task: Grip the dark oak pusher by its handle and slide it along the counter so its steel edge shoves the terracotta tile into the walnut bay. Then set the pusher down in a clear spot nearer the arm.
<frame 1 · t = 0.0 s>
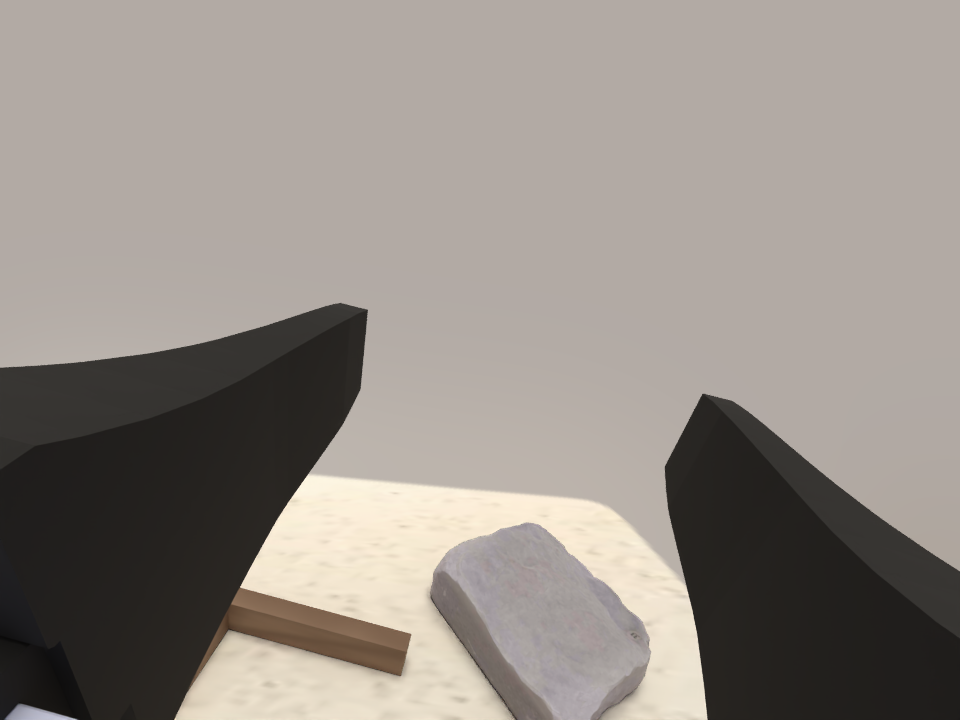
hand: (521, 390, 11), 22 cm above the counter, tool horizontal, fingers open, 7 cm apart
stone block: (537, 634, 31), on the counter
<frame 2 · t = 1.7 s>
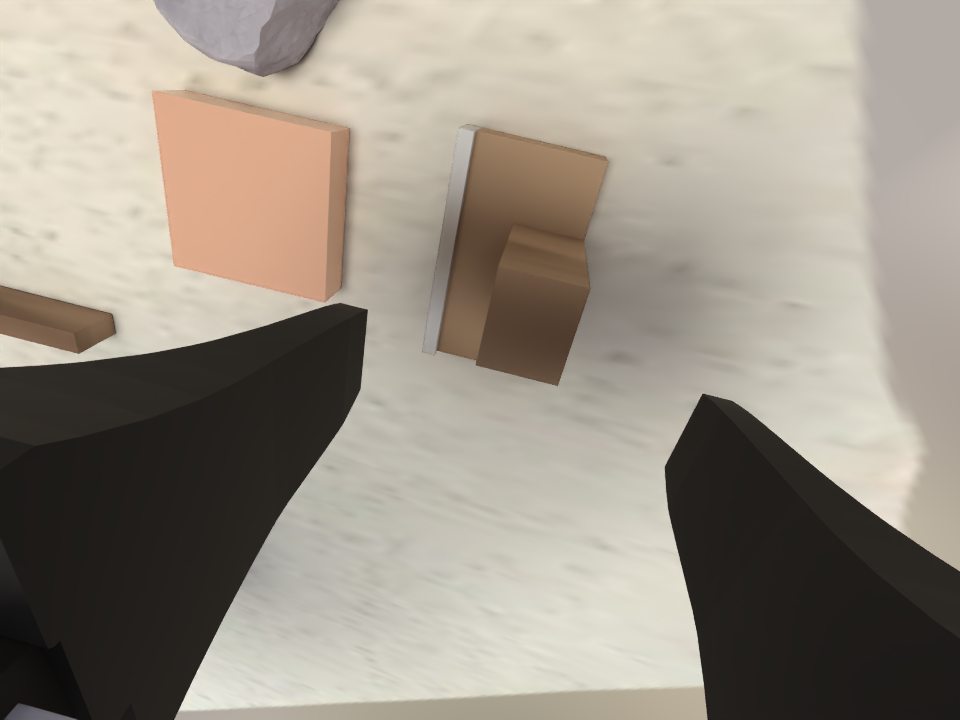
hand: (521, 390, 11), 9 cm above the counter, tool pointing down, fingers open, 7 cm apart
terracotta tile: (274, 194, 19), on the counter
oak pusher: (539, 261, 19), on the counter
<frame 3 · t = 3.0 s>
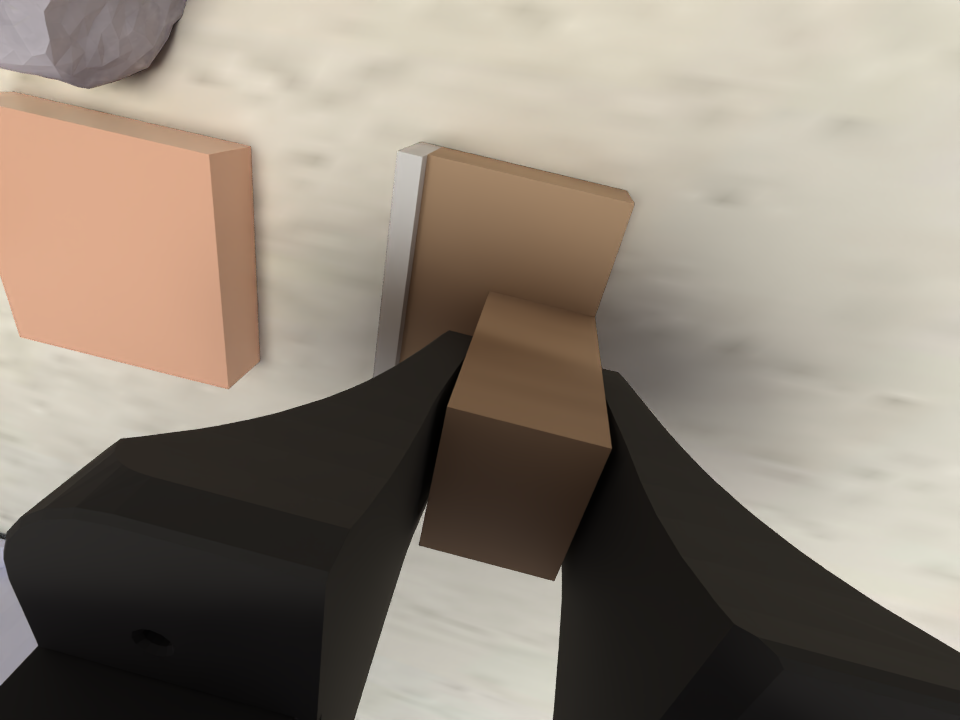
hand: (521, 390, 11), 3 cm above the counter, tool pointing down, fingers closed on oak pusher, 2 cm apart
terracotta tile: (160, 236, 14), on the counter
oak pusher: (529, 335, 13), on the counter, touching gripper
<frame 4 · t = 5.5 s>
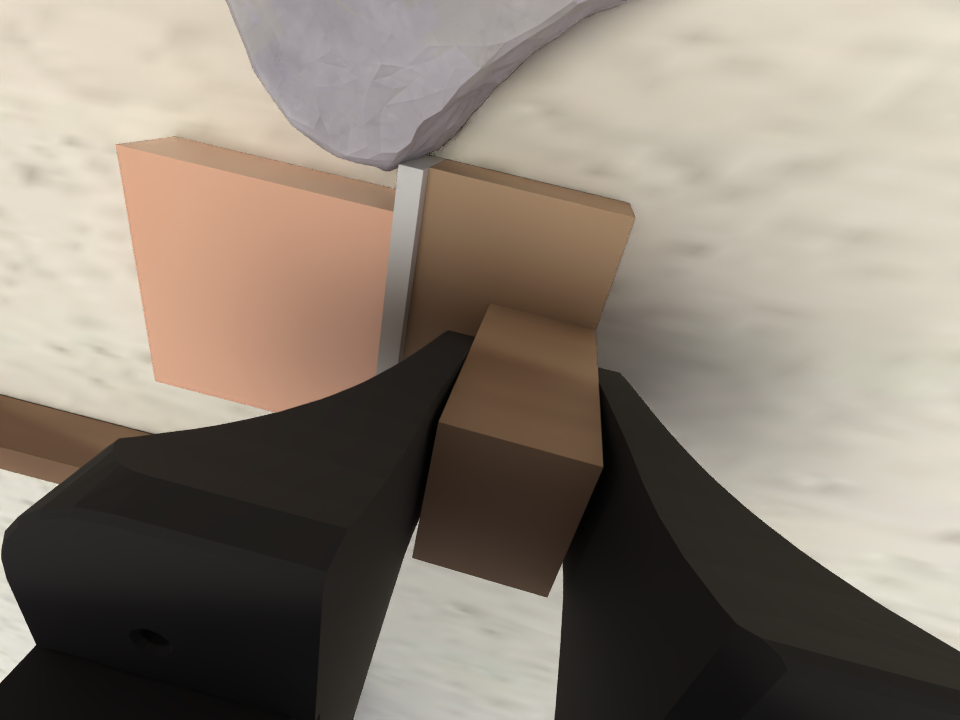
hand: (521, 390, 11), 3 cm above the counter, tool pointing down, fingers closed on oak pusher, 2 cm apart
walnut bay: (28, 211, 13), on the counter
terracotta tile: (297, 279, 13), on the counter
oak pusher: (531, 346, 13), on the counter, touching gripper
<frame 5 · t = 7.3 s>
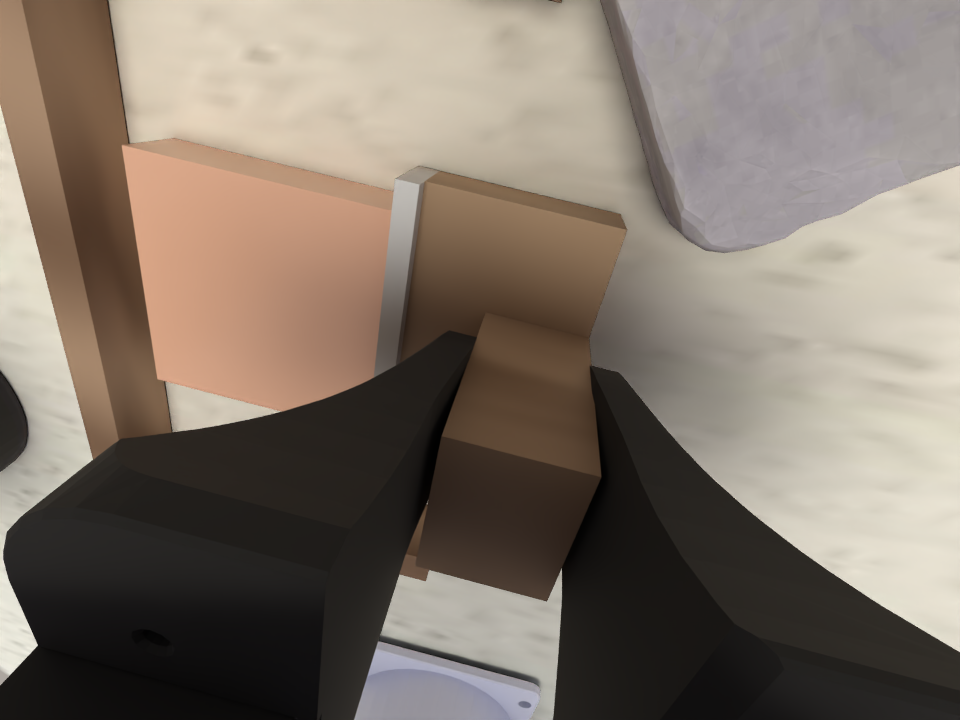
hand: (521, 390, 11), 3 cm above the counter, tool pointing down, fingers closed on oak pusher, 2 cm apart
walnut bay: (303, 279, 13), on the counter
terracotta tile: (299, 278, 14), on the counter, touching oak pusher
oak pusher: (525, 352, 13), on the counter, touching gripper, terracotta tile
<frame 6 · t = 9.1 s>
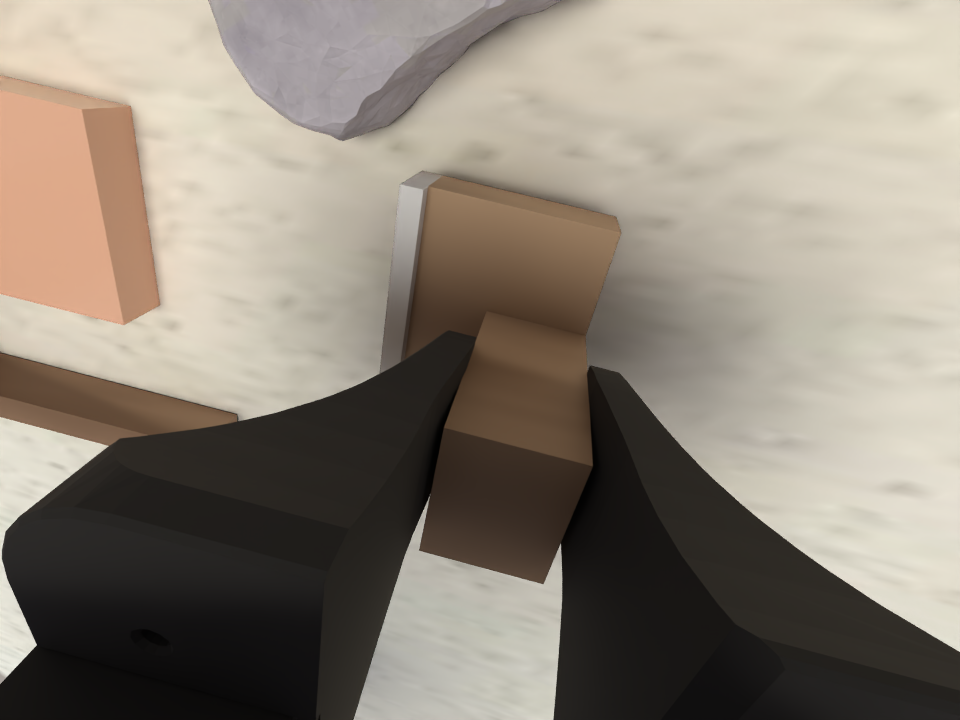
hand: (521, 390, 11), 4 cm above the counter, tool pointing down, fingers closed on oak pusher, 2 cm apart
walnut bay: (65, 190, 15), on the counter
terracotta tile: (65, 190, 15), on the counter
oak pusher: (525, 349, 14), point 1 cm above the counter, touching gripper
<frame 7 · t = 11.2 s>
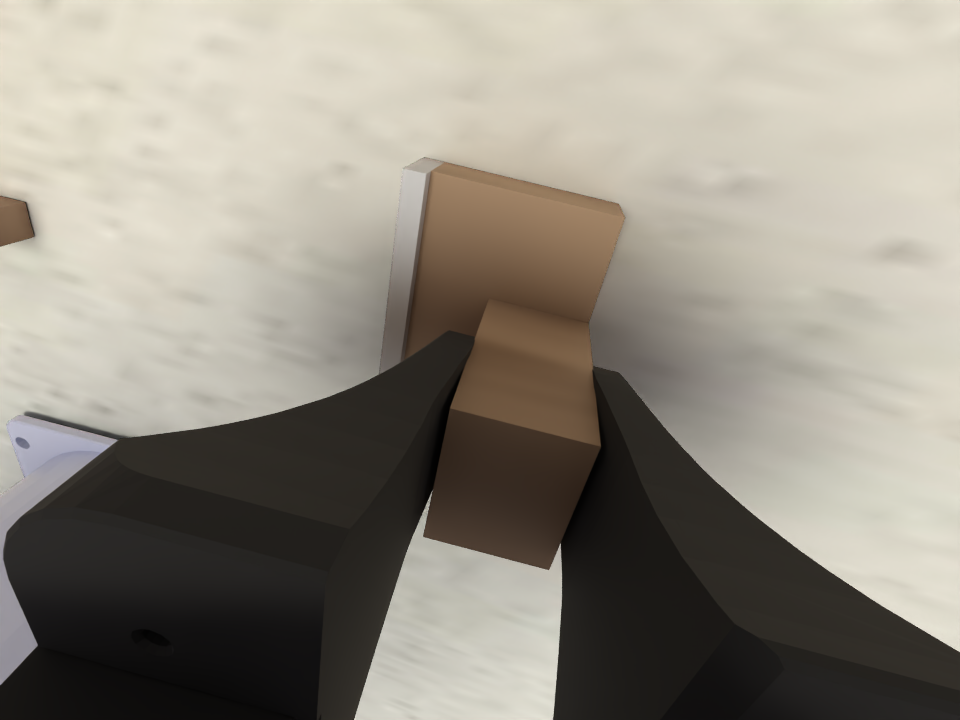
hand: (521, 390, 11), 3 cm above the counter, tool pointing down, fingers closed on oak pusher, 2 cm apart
oak pusher: (527, 339, 14), on the counter, touching gripper
when the fingers open (3 cm above the counter, at t = 11.2 s): oak pusher stays where it is, on the counter.
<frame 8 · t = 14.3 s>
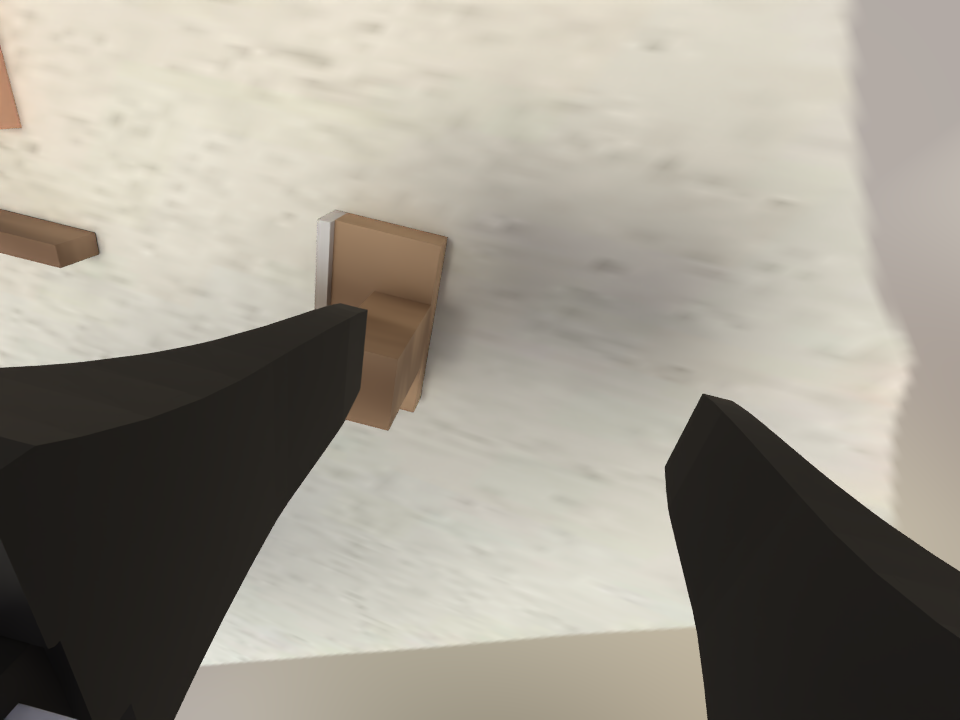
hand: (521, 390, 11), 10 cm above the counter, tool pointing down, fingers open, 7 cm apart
oak pusher: (407, 316, 22), on the counter
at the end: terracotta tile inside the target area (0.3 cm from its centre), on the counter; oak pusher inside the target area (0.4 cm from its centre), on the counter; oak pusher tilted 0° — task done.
